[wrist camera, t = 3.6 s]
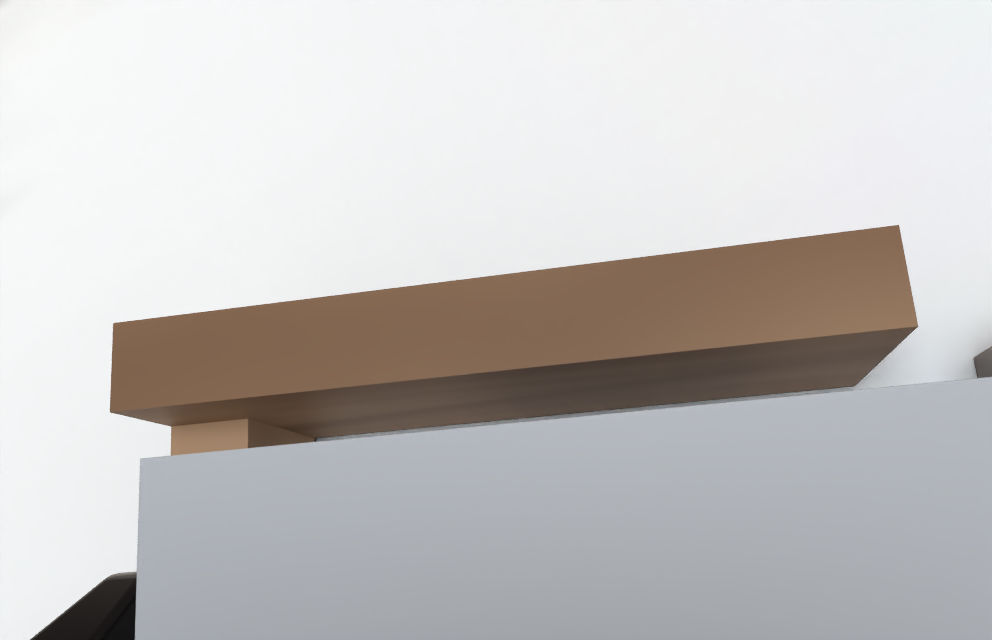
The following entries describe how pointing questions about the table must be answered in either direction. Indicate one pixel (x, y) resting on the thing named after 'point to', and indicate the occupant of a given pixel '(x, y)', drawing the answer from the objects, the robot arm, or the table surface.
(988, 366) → the dark grey open box
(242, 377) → the walnut bracket
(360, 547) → the slate block
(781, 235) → the table surface
